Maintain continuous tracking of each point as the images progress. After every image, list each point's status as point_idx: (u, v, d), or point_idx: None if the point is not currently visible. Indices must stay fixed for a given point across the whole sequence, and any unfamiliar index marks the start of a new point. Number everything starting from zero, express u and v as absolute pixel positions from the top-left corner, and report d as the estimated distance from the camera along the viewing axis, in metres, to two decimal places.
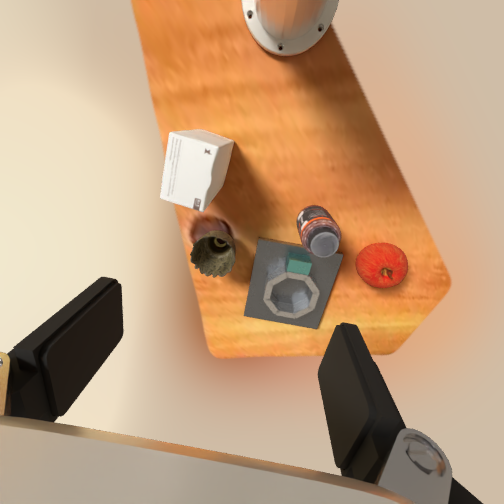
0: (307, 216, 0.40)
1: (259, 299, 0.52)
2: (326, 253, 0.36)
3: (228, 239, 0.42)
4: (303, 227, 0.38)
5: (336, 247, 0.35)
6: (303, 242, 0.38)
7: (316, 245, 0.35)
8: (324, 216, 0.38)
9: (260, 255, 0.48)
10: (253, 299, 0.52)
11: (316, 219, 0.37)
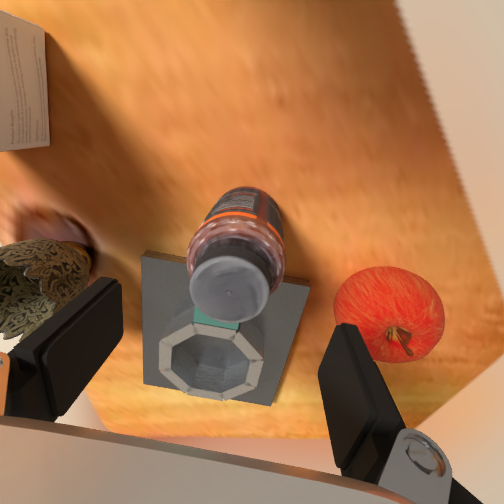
0: (214, 209, 0.17)
1: None
2: (236, 314, 0.13)
3: (43, 260, 0.19)
4: None
5: (262, 299, 0.12)
6: (190, 276, 0.15)
7: (205, 293, 0.12)
8: (244, 209, 0.15)
9: (151, 286, 0.25)
10: (154, 359, 0.29)
11: (218, 216, 0.14)
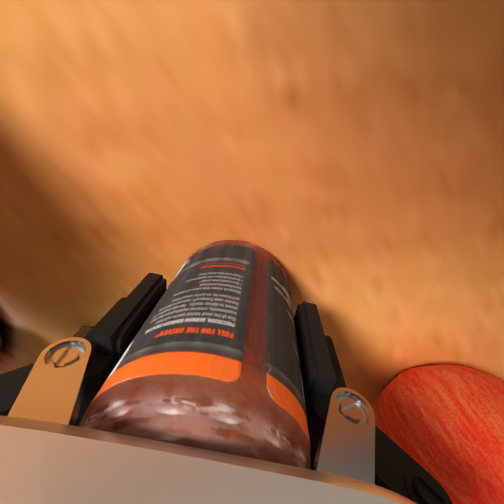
0: (160, 308, 0.08)
1: None
2: None
3: None
4: None
5: None
6: None
7: None
8: (214, 338, 0.06)
9: None
10: None
11: (145, 369, 0.06)
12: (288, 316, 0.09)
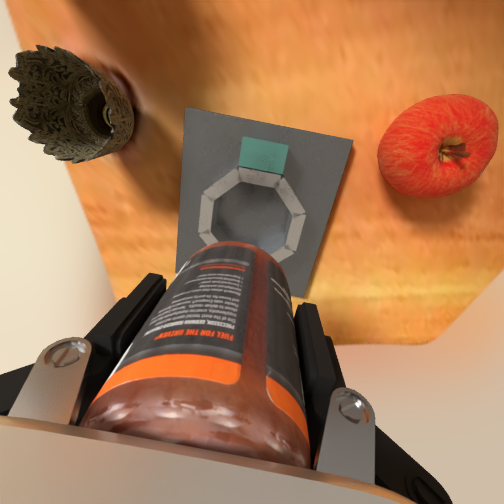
0: (159, 309, 0.08)
1: (199, 240, 0.29)
2: None
3: (100, 72, 0.19)
4: None
5: None
6: None
7: None
8: (213, 341, 0.06)
9: (192, 145, 0.25)
10: (188, 240, 0.29)
11: (144, 372, 0.06)
12: (288, 317, 0.09)
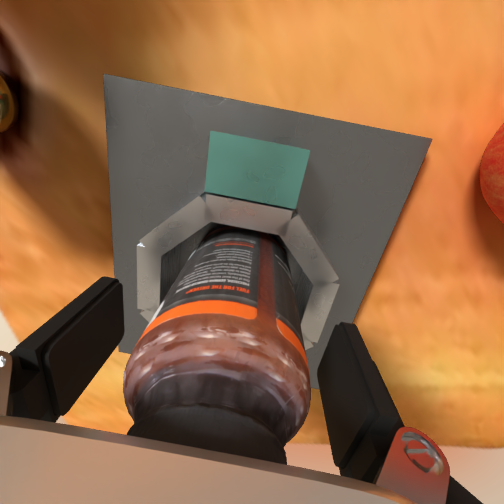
0: (184, 275, 0.10)
1: None
2: None
3: None
4: None
5: None
6: None
7: None
8: (234, 292, 0.08)
9: (124, 148, 0.13)
10: (134, 306, 0.17)
11: (183, 312, 0.07)
12: (290, 285, 0.11)
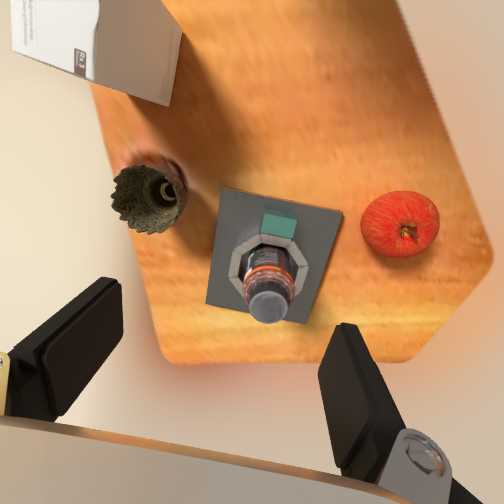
0: (255, 260, 0.30)
1: (226, 279, 0.37)
2: (270, 319, 0.26)
3: (170, 176, 0.28)
4: (245, 277, 0.28)
5: (284, 311, 0.25)
6: (244, 298, 0.28)
7: (257, 307, 0.25)
8: (274, 264, 0.28)
9: (225, 213, 0.34)
10: (217, 279, 0.37)
11: (261, 268, 0.27)
12: (289, 266, 0.31)
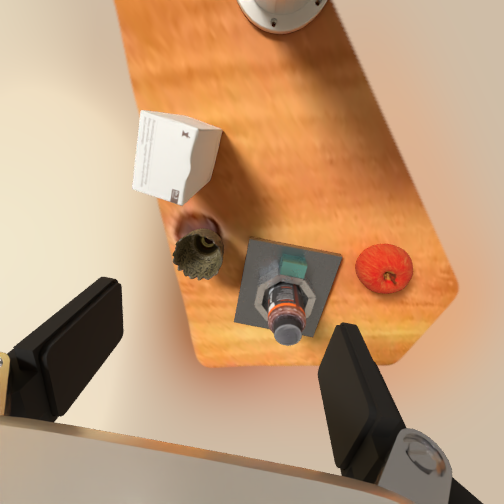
0: (276, 296, 0.41)
1: (250, 304, 0.48)
2: (289, 342, 0.37)
3: (215, 238, 0.38)
4: (270, 310, 0.39)
5: (299, 337, 0.36)
6: (269, 326, 0.39)
7: (279, 335, 0.36)
8: (291, 301, 0.39)
9: (251, 256, 0.44)
10: (244, 304, 0.48)
11: (282, 304, 0.38)
12: (301, 299, 0.42)
